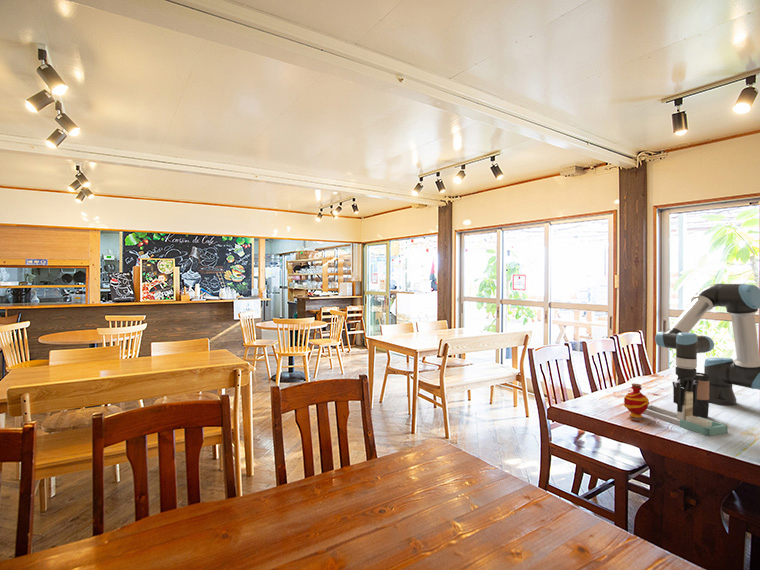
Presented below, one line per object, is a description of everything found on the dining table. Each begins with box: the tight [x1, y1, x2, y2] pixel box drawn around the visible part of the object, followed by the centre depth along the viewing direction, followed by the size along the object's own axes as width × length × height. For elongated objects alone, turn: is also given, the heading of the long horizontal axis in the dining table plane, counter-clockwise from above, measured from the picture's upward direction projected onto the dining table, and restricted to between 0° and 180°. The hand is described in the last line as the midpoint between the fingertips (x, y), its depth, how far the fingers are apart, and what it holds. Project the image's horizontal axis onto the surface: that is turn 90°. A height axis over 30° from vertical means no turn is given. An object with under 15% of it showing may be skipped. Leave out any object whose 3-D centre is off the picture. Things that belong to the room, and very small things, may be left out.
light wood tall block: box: [676, 391, 693, 421], centre depth 182 cm, size 4×4×14 cm
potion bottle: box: [623, 383, 650, 419], centre depth 191 cm, size 10×10×15 cm
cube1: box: [686, 415, 702, 424], centre depth 178 cm, size 4×4×4 cm
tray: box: [679, 417, 729, 437], centre depth 174 cm, size 12×12×3 cm
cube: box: [696, 418, 713, 427], centre depth 174 cm, size 4×4×4 cm
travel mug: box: [692, 371, 710, 419], centre depth 192 cm, size 8×8×20 cm
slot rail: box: [643, 403, 680, 426], centre depth 190 cm, size 10×22×2 cm, turn 18°
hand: (684, 418), depth 182 cm, fingers closed on light wood tall block, 4 cm apart
